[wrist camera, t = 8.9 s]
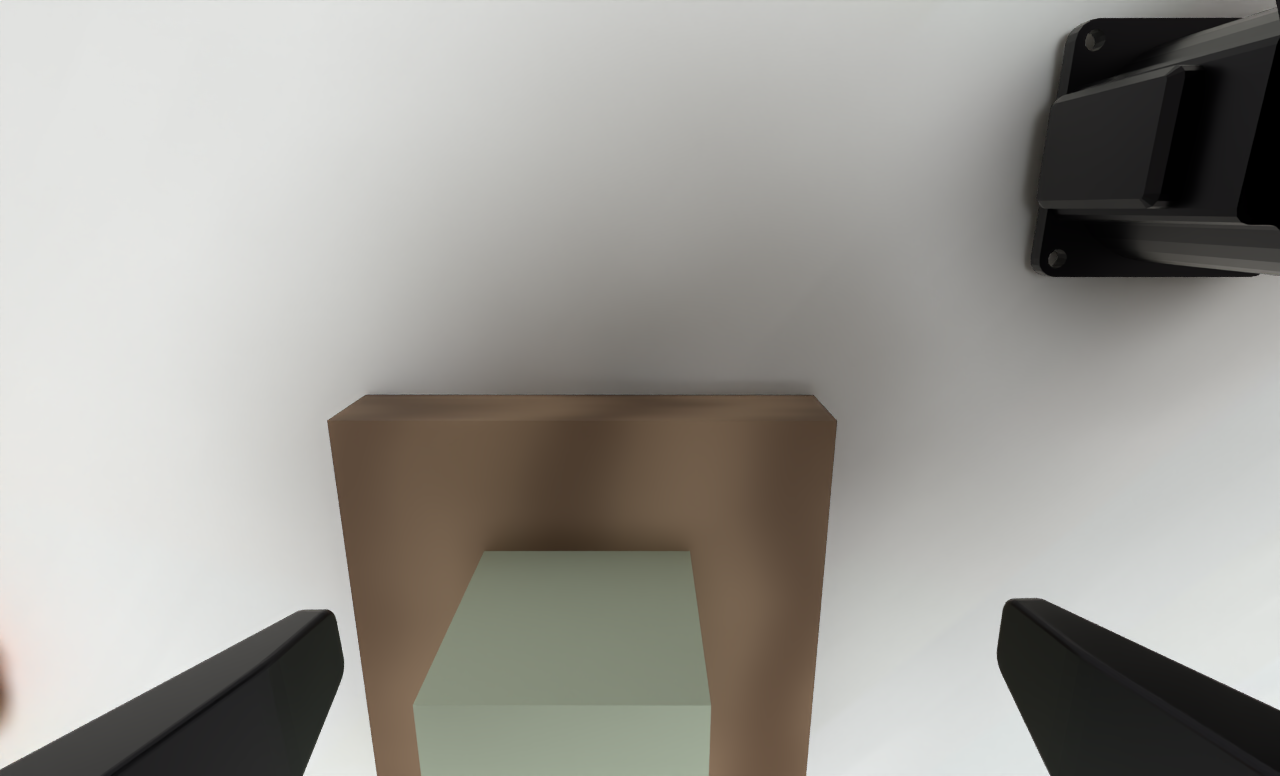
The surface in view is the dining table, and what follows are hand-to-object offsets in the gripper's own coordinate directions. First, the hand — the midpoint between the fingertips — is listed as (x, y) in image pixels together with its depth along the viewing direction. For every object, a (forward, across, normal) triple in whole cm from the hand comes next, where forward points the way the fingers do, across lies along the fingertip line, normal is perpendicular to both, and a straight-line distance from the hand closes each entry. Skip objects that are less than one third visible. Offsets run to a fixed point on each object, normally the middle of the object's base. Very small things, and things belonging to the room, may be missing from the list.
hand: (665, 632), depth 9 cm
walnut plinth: (+12, +2, +7) cm, 14 cm away
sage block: (+9, +2, +7) cm, 12 cm away
